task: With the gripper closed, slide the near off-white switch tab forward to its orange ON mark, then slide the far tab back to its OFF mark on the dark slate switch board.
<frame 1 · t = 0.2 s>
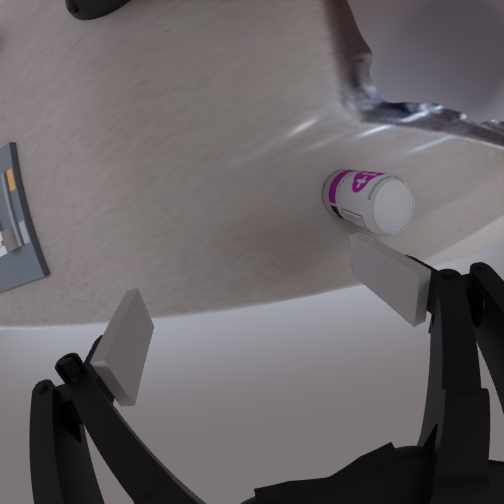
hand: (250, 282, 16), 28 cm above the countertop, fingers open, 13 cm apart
tab b: (4, 242, 32), point 5 cm above the countertop, slide at 10.0 cm
supplement can: (341, 192, 44), on the countertop
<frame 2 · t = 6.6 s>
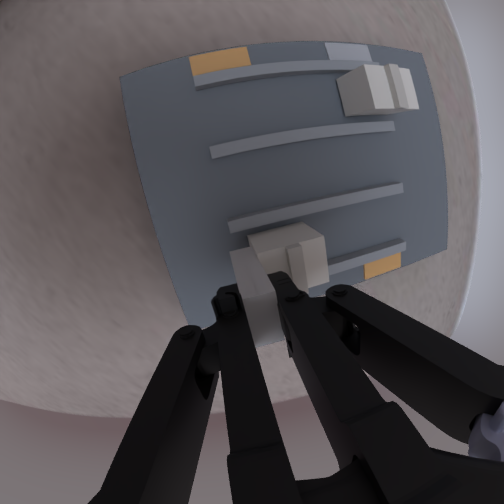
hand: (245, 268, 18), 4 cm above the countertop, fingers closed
switch board: (318, 165, 20), on the countertop
tab a: (287, 258, 17), point 5 cm above the countertop, slide at 1.1 cm, touching gripper
tab b: (379, 91, 15), point 5 cm above the countertop, slide at 10.0 cm
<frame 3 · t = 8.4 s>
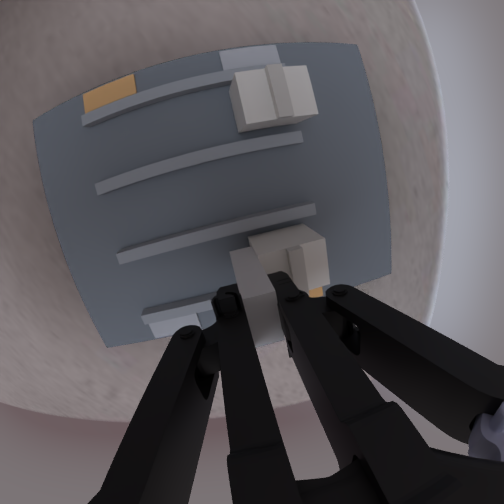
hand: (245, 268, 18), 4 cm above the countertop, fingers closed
switch board: (218, 188, 20), on the countertop
tab a: (288, 260, 17), point 5 cm above the countertop, slide at 9.1 cm, touching gripper
tab b: (270, 99, 14), point 5 cm above the countertop, slide at 10.0 cm
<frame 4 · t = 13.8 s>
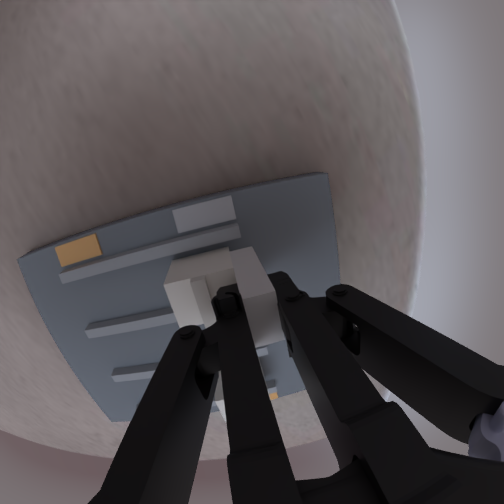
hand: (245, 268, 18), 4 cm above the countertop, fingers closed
switch board: (187, 323, 22), on the countertop
tab a: (242, 392, 20), point 5 cm above the countertop, slide at 9.2 cm
tab b: (205, 287, 17), point 5 cm above the countertop, slide at 9.0 cm, touching gripper
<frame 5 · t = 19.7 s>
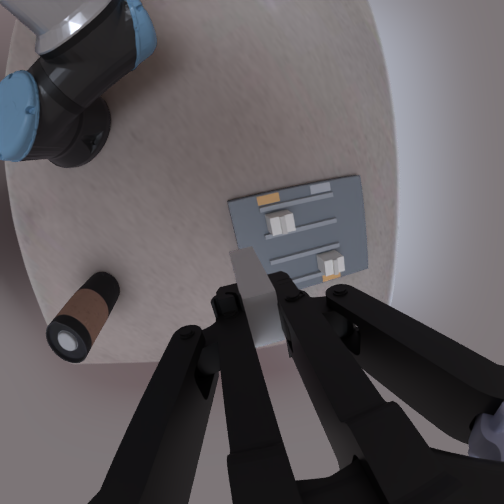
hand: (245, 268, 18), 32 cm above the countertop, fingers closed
switch board: (304, 236, 53), on the countertop
tab a: (331, 263, 50), point 5 cm above the countertop, slide at 9.2 cm
tab b: (280, 222, 46), point 5 cm above the countertop, slide at 0.8 cm
travel mug: (104, 287, 50), on the countertop
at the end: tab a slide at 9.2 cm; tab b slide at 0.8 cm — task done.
